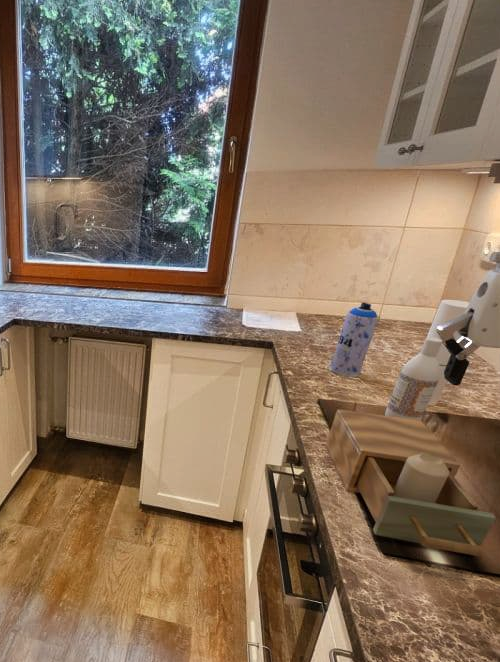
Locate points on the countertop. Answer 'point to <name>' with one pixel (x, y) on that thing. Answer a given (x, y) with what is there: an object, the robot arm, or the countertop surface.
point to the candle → (421, 478)
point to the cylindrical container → (444, 314)
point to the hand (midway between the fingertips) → (482, 384)
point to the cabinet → (379, 442)
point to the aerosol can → (354, 341)
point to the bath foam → (416, 383)
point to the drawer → (422, 511)
